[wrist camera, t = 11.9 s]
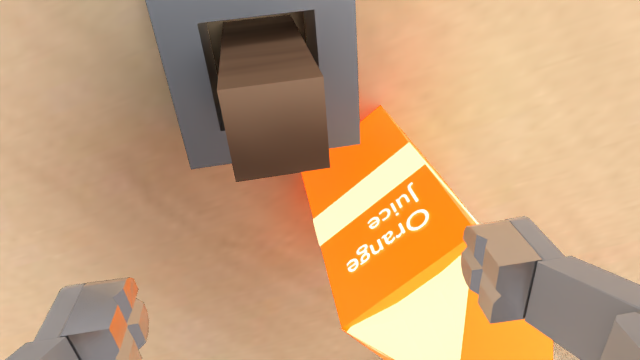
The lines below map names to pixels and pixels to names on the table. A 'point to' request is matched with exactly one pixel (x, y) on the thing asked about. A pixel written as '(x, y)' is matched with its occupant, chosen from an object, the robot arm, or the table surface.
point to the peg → (271, 99)
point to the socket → (201, 75)
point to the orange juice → (404, 255)
